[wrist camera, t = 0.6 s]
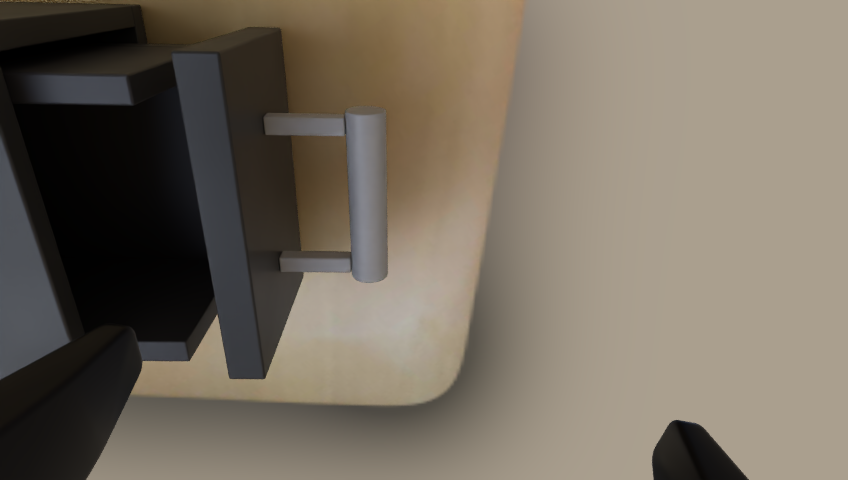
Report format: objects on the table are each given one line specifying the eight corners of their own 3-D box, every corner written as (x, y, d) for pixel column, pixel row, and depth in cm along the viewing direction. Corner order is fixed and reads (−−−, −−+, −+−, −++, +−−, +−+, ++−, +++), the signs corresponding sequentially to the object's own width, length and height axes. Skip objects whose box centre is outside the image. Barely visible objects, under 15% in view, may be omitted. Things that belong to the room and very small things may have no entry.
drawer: (390, 29, 19) (378, 54, 13) (391, 277, 24) (383, 381, 18) (-76, 19, 19) (-308, 40, 13) (16, 273, 23) (-123, 377, 17)
